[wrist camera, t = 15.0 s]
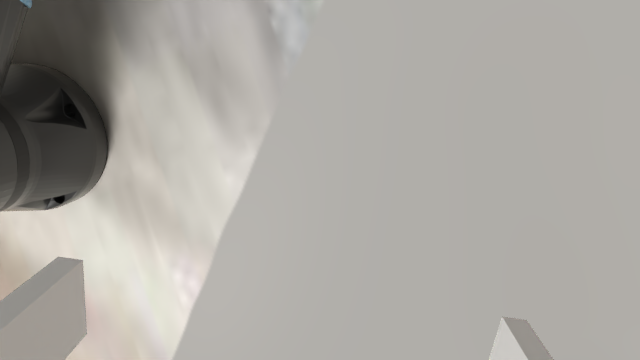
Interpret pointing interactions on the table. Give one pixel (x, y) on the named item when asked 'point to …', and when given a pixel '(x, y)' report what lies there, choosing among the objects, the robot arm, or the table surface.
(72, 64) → the table surface
